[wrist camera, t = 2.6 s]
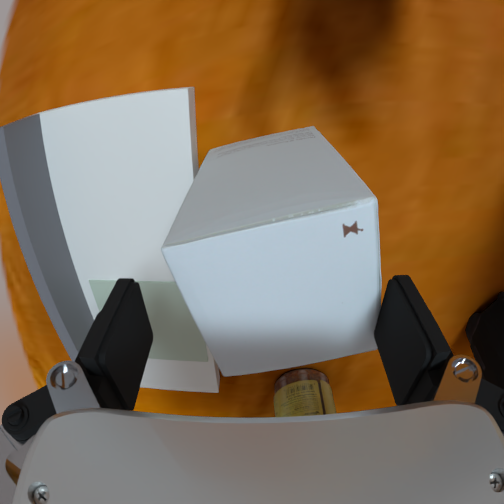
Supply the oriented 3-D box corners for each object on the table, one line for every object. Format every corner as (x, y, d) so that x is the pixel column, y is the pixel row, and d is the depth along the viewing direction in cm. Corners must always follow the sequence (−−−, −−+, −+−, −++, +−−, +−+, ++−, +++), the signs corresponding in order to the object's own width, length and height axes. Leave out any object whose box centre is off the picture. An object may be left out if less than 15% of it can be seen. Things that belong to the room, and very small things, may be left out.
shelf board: (194, 86, 18) (187, 88, 16) (219, 377, 33) (218, 394, 31) (40, 112, 18) (23, 117, 16) (117, 370, 33) (111, 384, 31)
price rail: (39, 113, 17) (3, 126, 13) (123, 385, 31) (114, 414, 28) (25, 117, 17) (-12, 131, 13) (112, 383, 31) (102, 412, 28)
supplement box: (206, 147, 21) (152, 242, 10) (315, 123, 20) (386, 194, 9) (234, 240, 25) (220, 381, 14) (331, 221, 24) (384, 352, 13)
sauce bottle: (263, 390, 34) (265, 560, 17) (291, 359, 31) (306, 556, 14) (311, 401, 36) (327, 556, 19) (342, 373, 33) (373, 546, 16)
